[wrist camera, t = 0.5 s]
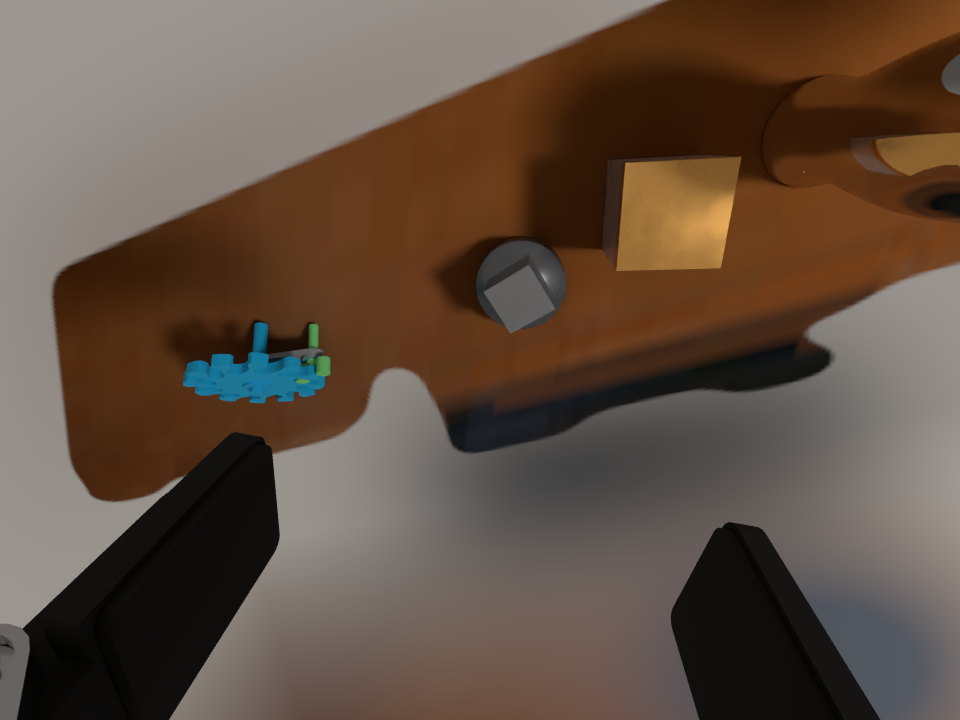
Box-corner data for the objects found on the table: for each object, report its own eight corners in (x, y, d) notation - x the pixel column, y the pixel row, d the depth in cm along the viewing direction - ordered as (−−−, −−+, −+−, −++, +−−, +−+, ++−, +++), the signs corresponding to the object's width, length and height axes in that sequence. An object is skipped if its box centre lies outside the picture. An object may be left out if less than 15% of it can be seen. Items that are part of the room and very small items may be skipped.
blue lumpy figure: (234, 414, 39) (145, 383, 30) (238, 353, 41) (157, 306, 32) (354, 398, 39) (303, 361, 29) (353, 338, 41) (304, 285, 31)
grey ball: (537, 218, 31) (537, 230, 26) (579, 293, 33) (587, 316, 28) (462, 265, 33) (451, 284, 28) (507, 333, 35) (503, 360, 30)
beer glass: (765, 73, 26) (1022, -8, 12) (897, 59, 25) (1331, -45, 11) (743, 198, 29) (930, 243, 15) (860, 190, 28) (1168, 231, 14)
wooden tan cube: (607, 160, 28) (625, 163, 23) (701, 154, 28) (741, 156, 22) (601, 249, 31) (616, 270, 26) (687, 246, 30) (720, 268, 25)
